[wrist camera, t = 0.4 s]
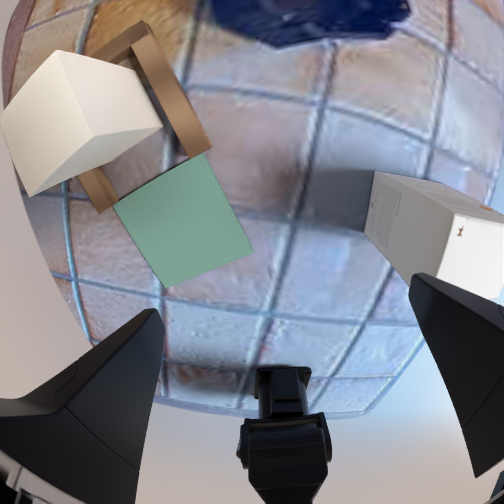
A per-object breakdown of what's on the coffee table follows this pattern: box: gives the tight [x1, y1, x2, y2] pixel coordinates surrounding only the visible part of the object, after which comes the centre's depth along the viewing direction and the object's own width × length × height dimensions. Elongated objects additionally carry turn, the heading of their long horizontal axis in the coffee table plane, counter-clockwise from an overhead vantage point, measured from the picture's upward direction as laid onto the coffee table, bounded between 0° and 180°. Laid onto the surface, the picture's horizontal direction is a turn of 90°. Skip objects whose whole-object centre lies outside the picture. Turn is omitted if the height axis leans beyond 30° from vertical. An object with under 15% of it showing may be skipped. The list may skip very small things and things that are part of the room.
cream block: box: [0, 50, 164, 198], centre depth 13 cm, size 6×6×10 cm
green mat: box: [113, 153, 254, 288], centre depth 22 cm, size 9×9×1 cm
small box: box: [364, 171, 504, 300], centre depth 16 cm, size 8×6×10 cm
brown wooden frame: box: [77, 20, 213, 214], centre depth 17 cm, size 12×11×2 cm
